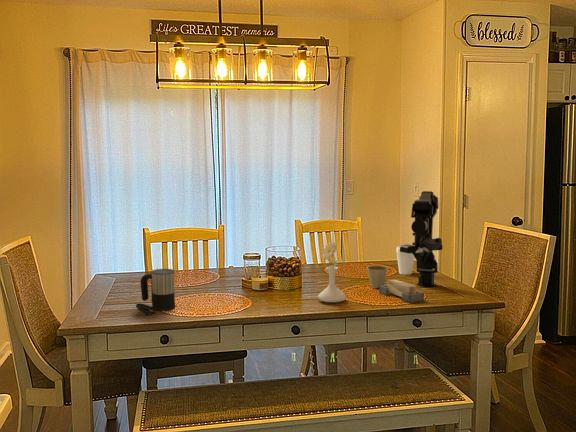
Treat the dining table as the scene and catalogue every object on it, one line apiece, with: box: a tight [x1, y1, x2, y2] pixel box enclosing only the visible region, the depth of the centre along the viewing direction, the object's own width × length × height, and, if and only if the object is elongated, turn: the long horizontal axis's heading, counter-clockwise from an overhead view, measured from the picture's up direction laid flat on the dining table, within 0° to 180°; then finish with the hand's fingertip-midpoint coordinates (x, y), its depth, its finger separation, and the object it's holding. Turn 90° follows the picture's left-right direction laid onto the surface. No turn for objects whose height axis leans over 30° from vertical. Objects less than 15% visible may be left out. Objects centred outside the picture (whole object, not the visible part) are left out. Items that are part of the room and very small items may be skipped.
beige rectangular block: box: [386, 279, 417, 298], centre depth 235 cm, size 4×14×5 cm, turn 27°
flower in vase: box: [317, 241, 347, 303], centre depth 227 cm, size 13×11×25 cm
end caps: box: [379, 284, 425, 304], centre depth 235 cm, size 8×19×3 cm, turn 29°
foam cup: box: [396, 246, 415, 276], centre depth 282 cm, size 10×9×13 cm
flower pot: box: [366, 265, 389, 289], centre depth 254 cm, size 9×9×9 cm
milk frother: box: [135, 268, 176, 315], centre depth 217 cm, size 14×16×15 cm
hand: (421, 267), depth 235 cm, fingers closed
